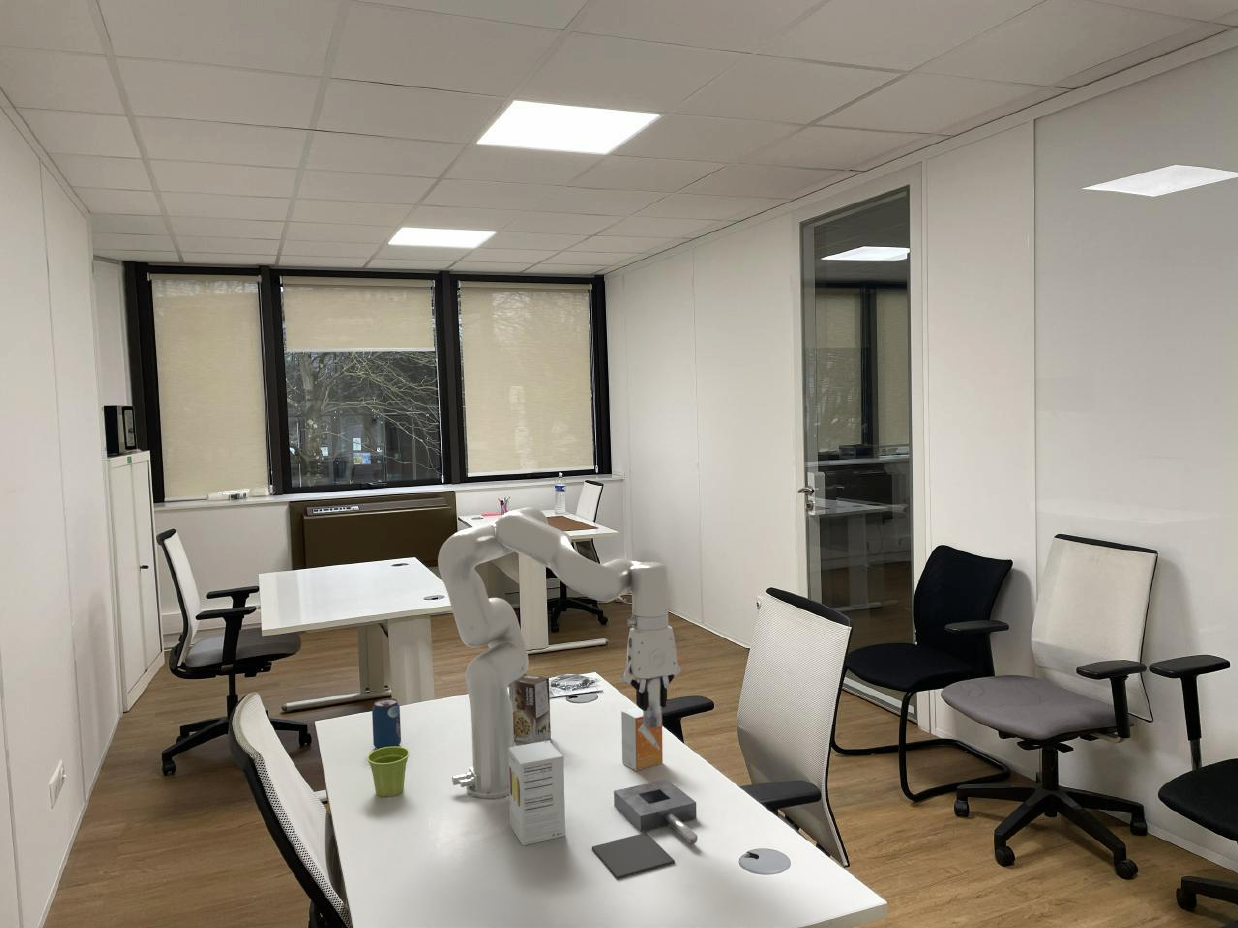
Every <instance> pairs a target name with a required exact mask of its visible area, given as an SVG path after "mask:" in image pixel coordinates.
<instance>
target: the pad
mask: <svg viewBox="0 0 1238 928" xmlns="http://www.w3.org/2000/svg"><path fill="white" fill-rule="evenodd" d="M591 850H592V852H594V854H595V855H596V856H597V858H599V860H600V861H601V862H602V863H603V864H604V866H605V867H606V868H607V869H608V870H609V872H610V873H611V874H612V875H613V876H614V877H615V879H616V880H620V879H624V878H628V877H631V876H635V875H639V874H641V873H642V874H643V873H646V872H650V871H654V870H657V869H660V868H664V867H667V866H671V865H675V864H676V860H675V859H674V858H673V857H672V856H671V855H670V854H669V853H668V852H667V851H666V850H665V848H663V847H662V846H661V845H660V844H659V843H658V842H657V841H656V840H654V839H653V837H652V836H651V835H650V834H649V833H647V832H642V833H640V834H635V835H632V836H628V837H623V838H621V839H616V840H612V841H609V842H608V841H607V842H604V843H600V844H596V845H592V846H591Z"/></svg>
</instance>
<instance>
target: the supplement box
mask: <svg viewBox="0 0 1238 928" xmlns="http://www.w3.org/2000/svg"><path fill="white" fill-rule="evenodd" d="M508 757H509V793H510V795H509V823H510V824H509V825H510V827H511V828H512V830H513V832H514V834H515V835H516V837H517V839H518V840H519V842H520V843H521V846H526V845H531V844H536V843H540V841H541V842H544V841H548V840H553V839H557V838H563V837H565V836H566V822H565V821H566V819H565V817H566V816H565V814H566V813H565V776H564V775H565V773H564V772H565V770H564V768H565V767H564V756H563V754H562V753H561V752H560V751H559V750H558V749H557V748H556V747H555V746H554V744H553V743H552V742H551V740H546V741H543V742H537V743H531V744H530V743H526V744H521V745H514V747H510V748H508Z"/></svg>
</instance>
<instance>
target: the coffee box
mask: <svg viewBox="0 0 1238 928" xmlns="http://www.w3.org/2000/svg"><path fill="white" fill-rule="evenodd" d="M508 695H509V697H510V700H511V703H512V708H513V729H514V741H518V742H521V743H526V744H531V743H537V742H543V741H549V740H550V739H551V738H552V733H551V732H552V731H551V703H550V701H551V699H550V698H551V697H550V677H545V676H540V675H533V674H530V673H529V674H528V673H525V674H524V675H523V676H522V677H521V678H520V679H518V680H517V681H515V682H514V683H512V684H511V685H509V686H508Z"/></svg>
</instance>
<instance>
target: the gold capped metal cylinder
mask: <svg viewBox="0 0 1238 928" xmlns="http://www.w3.org/2000/svg"><path fill="white" fill-rule="evenodd" d="M645 692H647V711H643V725H644V726H646V727H659V726H661V711H662V706H661V677H656V678H650V679H646V683H645Z"/></svg>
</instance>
